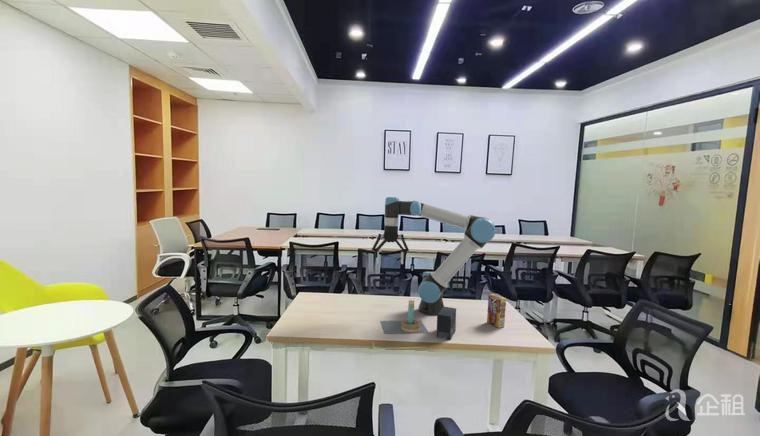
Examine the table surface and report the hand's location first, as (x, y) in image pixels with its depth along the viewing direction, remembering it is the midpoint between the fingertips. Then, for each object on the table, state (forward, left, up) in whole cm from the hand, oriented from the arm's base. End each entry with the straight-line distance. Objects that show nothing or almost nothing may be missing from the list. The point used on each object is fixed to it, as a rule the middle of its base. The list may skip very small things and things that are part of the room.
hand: (389, 263), depth 193 cm
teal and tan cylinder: (-8, +22, -28) cm, 37 cm away
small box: (-24, +29, -29) cm, 48 cm away
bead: (-8, +22, -28) cm, 37 cm away
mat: (-5, +20, -29) cm, 35 cm away
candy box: (-55, +17, -29) cm, 64 cm away
